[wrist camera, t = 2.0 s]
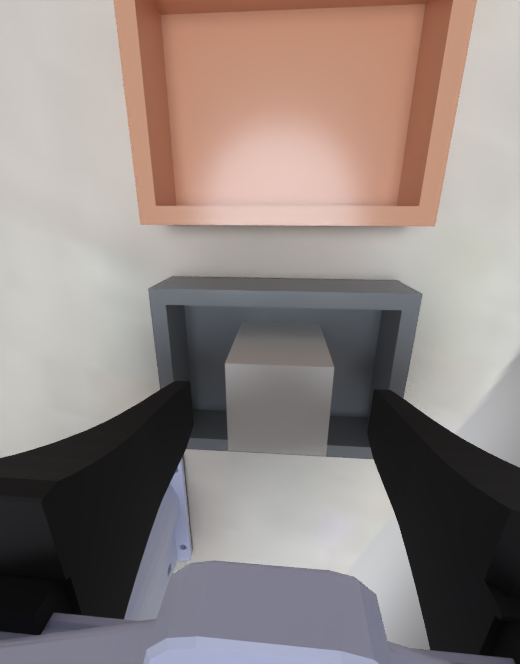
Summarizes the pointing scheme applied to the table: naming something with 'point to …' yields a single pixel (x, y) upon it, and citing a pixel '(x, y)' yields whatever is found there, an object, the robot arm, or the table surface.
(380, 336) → the charcoal bin
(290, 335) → the stone block
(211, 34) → the terracotta bin
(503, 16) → the table surface
